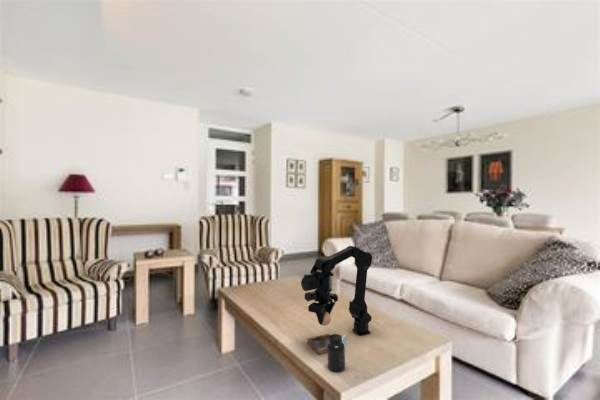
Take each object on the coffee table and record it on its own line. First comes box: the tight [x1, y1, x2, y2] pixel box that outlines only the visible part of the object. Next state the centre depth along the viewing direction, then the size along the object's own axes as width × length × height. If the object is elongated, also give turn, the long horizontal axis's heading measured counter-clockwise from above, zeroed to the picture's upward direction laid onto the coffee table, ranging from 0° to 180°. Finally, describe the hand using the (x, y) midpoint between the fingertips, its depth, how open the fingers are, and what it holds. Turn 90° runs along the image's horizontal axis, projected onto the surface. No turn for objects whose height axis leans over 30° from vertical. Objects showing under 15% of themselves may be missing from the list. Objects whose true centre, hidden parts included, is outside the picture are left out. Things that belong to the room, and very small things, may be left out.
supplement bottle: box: [326, 333, 346, 373], centre depth 110 cm, size 7×7×12 cm
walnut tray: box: [307, 333, 331, 356], centre depth 126 cm, size 11×11×2 cm
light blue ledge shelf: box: [342, 334, 349, 347], centre depth 122 cm, size 16×2×4 cm, turn 149°
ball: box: [316, 312, 332, 327], centre depth 125 cm, size 6×6×6 cm
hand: (323, 321), depth 125 cm, fingers closed on ball, 6 cm apart
